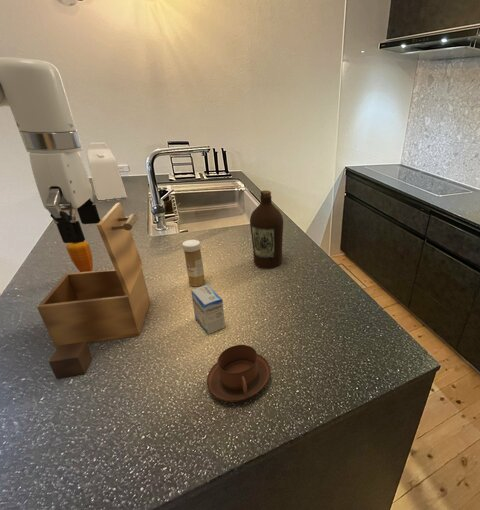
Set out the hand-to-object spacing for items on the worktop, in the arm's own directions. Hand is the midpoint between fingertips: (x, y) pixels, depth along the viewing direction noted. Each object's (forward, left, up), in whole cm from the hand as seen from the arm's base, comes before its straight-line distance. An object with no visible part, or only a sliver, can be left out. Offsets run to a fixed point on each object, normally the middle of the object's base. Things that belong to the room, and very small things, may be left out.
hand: (83, 232), depth 61 cm
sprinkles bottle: (+17, +17, -25) cm, 34 cm away
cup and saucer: (+27, -23, -25) cm, 43 cm away
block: (-4, -11, -25) cm, 27 cm away
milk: (-28, +111, -25) cm, 117 cm away
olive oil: (+39, +26, -25) cm, 53 cm away
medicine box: (+21, -3, -25) cm, 33 cm away
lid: (+5, +3, -5) cm, 7 cm away
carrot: (-13, +27, -25) cm, 39 cm away
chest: (-2, +3, -25) cm, 25 cm away
